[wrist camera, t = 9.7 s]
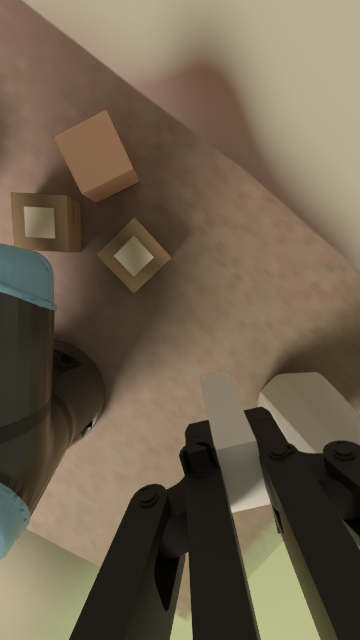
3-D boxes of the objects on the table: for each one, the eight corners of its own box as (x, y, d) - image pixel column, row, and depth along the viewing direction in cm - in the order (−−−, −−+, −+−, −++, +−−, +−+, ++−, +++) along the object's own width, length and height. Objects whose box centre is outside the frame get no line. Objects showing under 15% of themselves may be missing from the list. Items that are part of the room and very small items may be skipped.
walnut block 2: (138, 288, 40) (133, 293, 35) (105, 254, 39) (95, 255, 34) (171, 257, 40) (171, 257, 35) (139, 221, 39) (133, 217, 34)
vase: (257, 448, 46) (453, 911, 14) (234, 379, 43) (405, 745, 11) (336, 422, 45) (739, 846, 13) (317, 352, 43) (755, 655, 10)
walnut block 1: (34, 249, 39) (13, 249, 34) (31, 200, 38) (9, 191, 33) (81, 252, 39) (67, 251, 34) (80, 202, 38) (66, 195, 33)
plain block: (96, 203, 38) (81, 194, 32) (72, 155, 37) (53, 136, 31) (139, 181, 38) (133, 168, 32) (117, 132, 36) (106, 109, 31)
